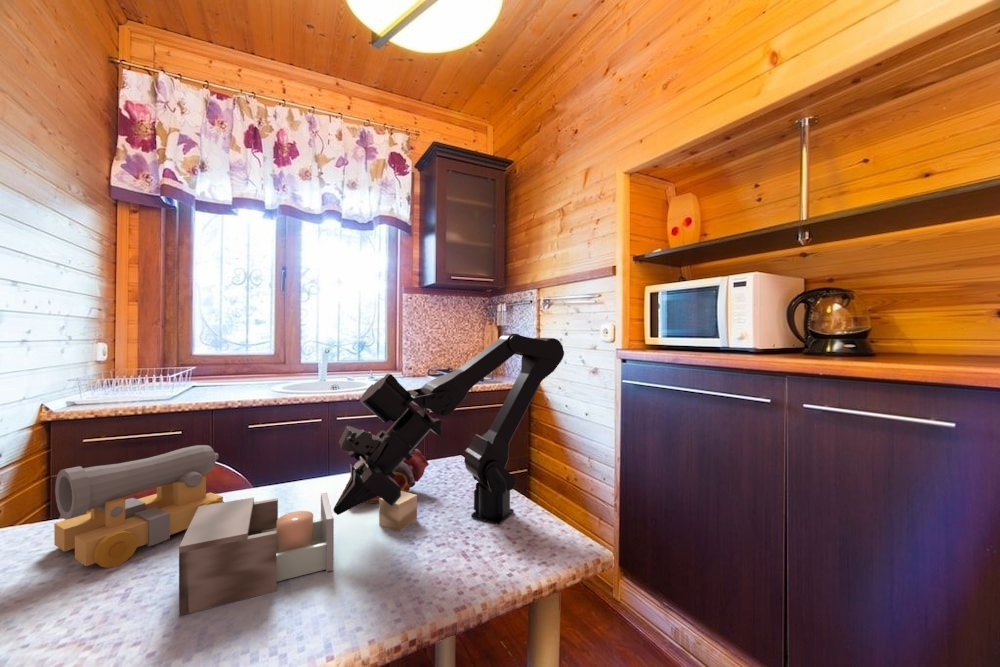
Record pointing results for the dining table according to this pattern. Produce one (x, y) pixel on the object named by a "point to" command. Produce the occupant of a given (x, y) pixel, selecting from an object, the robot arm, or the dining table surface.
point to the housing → (228, 554)
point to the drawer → (310, 548)
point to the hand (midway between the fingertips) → (335, 512)
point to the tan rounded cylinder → (294, 531)
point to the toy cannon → (130, 503)
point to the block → (398, 512)
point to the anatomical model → (408, 472)
